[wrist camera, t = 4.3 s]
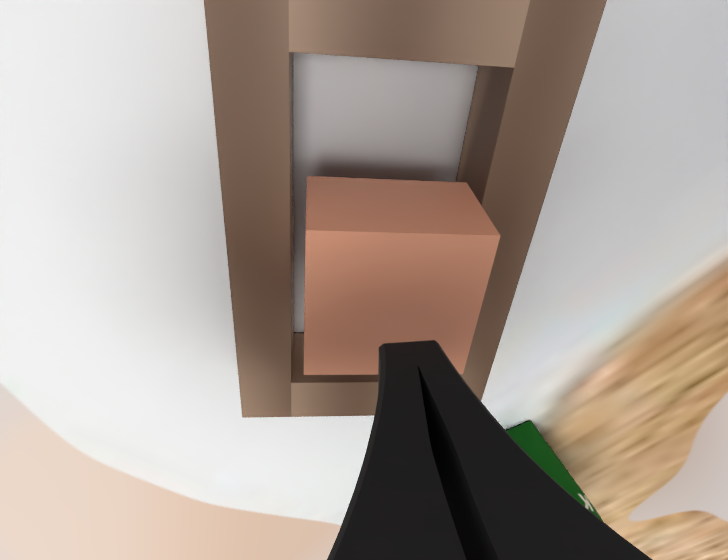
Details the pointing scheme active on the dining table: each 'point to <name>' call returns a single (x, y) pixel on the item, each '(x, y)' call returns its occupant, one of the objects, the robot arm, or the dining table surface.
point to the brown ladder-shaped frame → (477, 168)
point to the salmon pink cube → (391, 269)
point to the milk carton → (548, 460)
